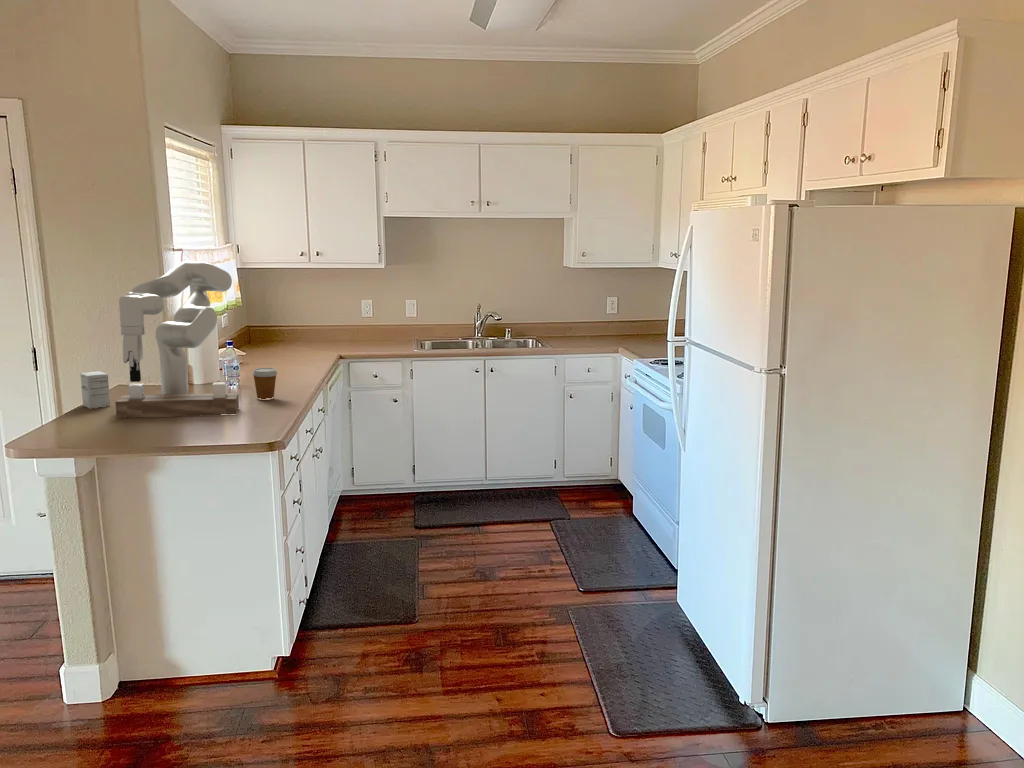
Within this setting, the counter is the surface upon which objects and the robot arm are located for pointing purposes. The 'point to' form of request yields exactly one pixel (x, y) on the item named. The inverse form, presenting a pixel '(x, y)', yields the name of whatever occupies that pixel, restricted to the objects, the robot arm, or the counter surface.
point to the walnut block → (176, 405)
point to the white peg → (219, 389)
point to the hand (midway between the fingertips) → (135, 381)
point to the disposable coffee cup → (265, 382)
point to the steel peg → (136, 391)
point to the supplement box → (95, 389)
